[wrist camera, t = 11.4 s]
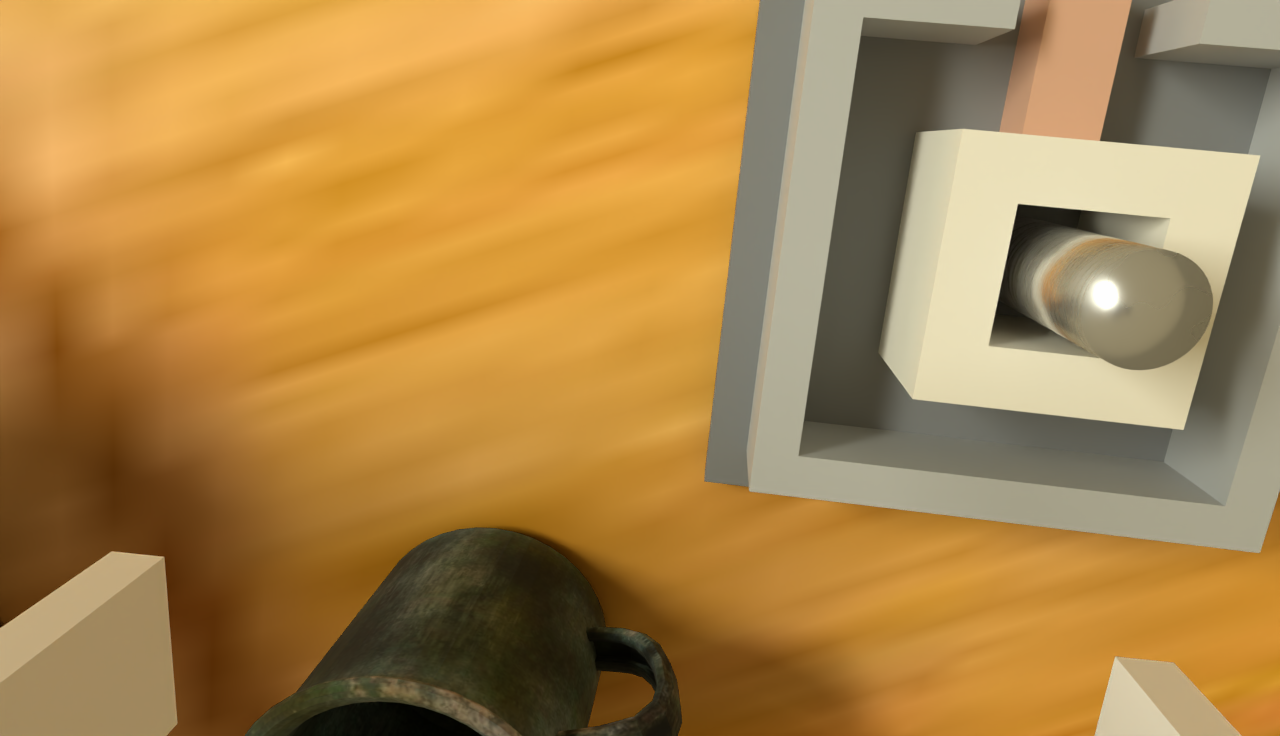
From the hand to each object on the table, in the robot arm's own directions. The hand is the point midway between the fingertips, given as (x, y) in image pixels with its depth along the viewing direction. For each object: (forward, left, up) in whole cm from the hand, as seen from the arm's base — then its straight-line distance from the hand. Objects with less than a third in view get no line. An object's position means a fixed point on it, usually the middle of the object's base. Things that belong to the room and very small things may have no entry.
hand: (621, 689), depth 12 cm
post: (+11, +4, -21) cm, 24 cm away
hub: (+11, +7, -21) cm, 25 cm away
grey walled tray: (+11, +4, -22) cm, 25 cm away
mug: (-6, -14, -23) cm, 27 cm away
